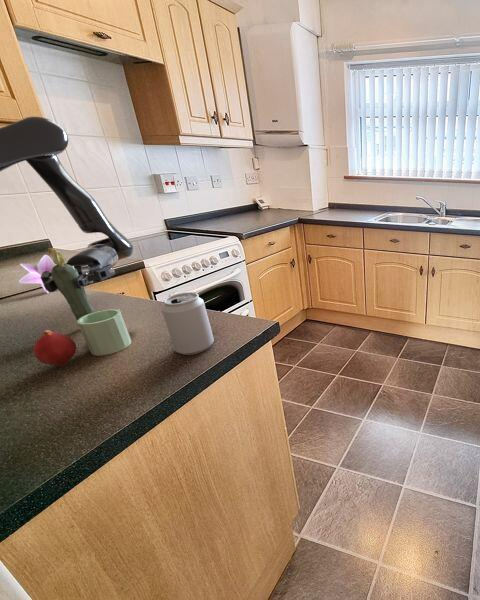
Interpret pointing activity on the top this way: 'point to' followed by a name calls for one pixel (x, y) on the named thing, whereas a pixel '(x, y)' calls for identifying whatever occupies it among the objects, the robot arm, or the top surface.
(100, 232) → the robot arm
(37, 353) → the onion
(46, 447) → the top surface
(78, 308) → the vegetable
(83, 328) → the tube
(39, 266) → the lily
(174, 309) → the can
